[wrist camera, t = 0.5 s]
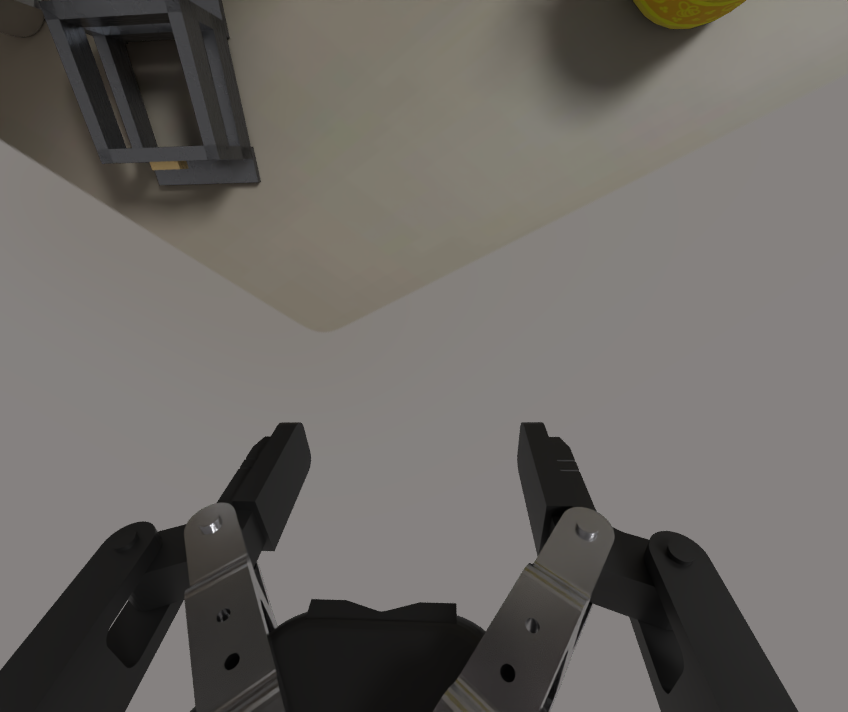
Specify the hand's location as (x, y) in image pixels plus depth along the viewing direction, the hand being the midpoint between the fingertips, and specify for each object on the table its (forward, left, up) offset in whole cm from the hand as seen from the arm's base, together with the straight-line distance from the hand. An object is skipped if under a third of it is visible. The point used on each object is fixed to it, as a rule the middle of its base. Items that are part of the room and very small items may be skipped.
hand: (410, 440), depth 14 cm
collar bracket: (-14, -22, -29) cm, 39 cm away
